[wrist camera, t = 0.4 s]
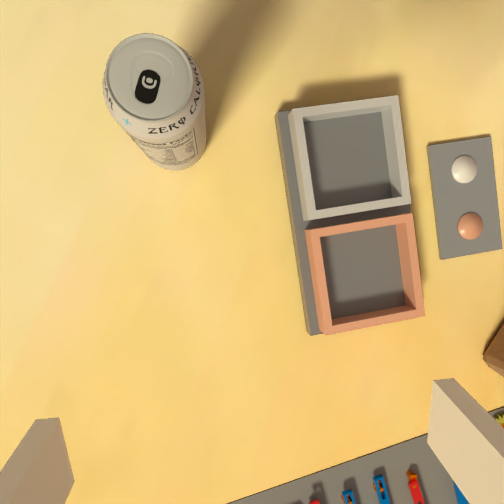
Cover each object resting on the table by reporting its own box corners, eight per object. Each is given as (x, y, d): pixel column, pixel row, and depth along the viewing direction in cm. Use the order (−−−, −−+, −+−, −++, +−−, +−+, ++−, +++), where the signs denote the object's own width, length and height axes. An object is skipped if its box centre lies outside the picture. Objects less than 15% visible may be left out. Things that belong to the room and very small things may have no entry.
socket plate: (274, 116, 36) (281, 105, 33) (389, 101, 38) (407, 88, 34) (306, 331, 38) (316, 342, 35) (414, 310, 39) (434, 318, 36)
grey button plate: (426, 146, 38) (430, 145, 38) (488, 137, 39) (492, 135, 38) (439, 259, 39) (443, 259, 39) (499, 248, 40) (503, 248, 39)
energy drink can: (213, 120, 36) (216, 43, 21) (196, 180, 36) (187, 146, 21) (152, 100, 35) (110, 5, 20) (135, 161, 35) (81, 112, 20)
